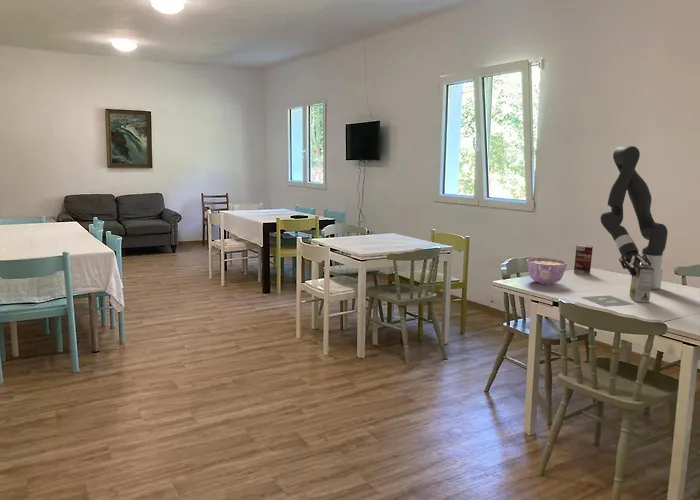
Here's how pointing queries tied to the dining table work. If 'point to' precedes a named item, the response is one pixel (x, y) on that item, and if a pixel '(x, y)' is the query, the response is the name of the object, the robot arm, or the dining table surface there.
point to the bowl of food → (546, 269)
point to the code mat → (607, 300)
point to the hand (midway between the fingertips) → (642, 275)
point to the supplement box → (583, 259)
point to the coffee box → (641, 283)
